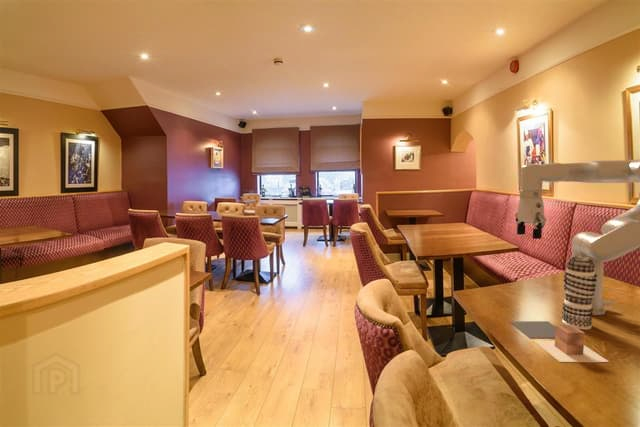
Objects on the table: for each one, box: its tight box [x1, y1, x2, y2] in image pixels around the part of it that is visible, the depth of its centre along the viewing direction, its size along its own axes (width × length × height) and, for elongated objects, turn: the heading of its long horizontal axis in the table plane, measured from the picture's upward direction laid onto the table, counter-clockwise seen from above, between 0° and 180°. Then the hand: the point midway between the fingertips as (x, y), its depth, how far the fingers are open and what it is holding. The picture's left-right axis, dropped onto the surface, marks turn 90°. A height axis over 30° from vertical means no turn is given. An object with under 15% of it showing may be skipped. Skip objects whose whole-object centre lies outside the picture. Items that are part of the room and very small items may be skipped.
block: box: [554, 324, 586, 355], centre depth 98 cm, size 5×5×7 cm
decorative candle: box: [561, 256, 597, 330], centre depth 114 cm, size 9×9×25 cm
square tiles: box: [509, 320, 610, 363], centre depth 105 cm, size 14×26×1 cm, turn 178°
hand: (528, 236), depth 130 cm, fingers open, 9 cm apart
